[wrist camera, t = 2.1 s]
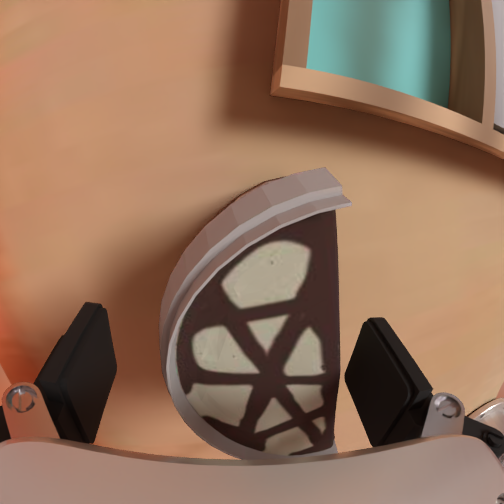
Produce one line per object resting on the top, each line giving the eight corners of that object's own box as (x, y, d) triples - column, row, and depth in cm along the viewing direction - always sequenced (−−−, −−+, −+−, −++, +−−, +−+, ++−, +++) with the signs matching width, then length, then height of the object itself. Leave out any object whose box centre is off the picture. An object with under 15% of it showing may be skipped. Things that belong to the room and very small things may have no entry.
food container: (166, 168, 16) (84, 223, 7) (282, 148, 16) (350, 178, 7) (211, 353, 21) (204, 484, 11) (301, 339, 21) (339, 466, 11)
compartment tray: (537, 5, 11) (568, 1, 7) (538, 176, 17) (574, 189, 13) (293, -114, 8) (305, -149, 4) (269, 95, 15) (282, 84, 11)
